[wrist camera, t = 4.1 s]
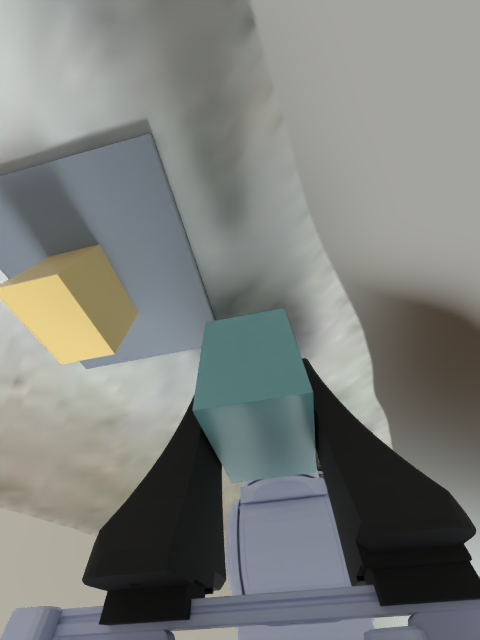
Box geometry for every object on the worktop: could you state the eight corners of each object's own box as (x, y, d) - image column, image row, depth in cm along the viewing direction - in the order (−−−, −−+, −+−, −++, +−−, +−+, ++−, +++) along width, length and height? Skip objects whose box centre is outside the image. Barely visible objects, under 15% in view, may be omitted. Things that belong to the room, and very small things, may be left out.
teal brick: (293, 385, 15) (316, 472, 11) (231, 395, 15) (232, 482, 11) (284, 307, 12) (313, 392, 8) (205, 322, 12) (192, 410, 8)
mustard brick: (138, 313, 20) (114, 354, 16) (95, 322, 21) (61, 364, 16) (99, 244, 17) (57, 274, 13) (48, 256, 17) (-9, 289, 13)
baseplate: (221, 339, 23) (221, 343, 22) (89, 364, 24) (86, 369, 24) (151, 134, 14) (148, 133, 13) (-55, 192, 15) (-65, 194, 15)
